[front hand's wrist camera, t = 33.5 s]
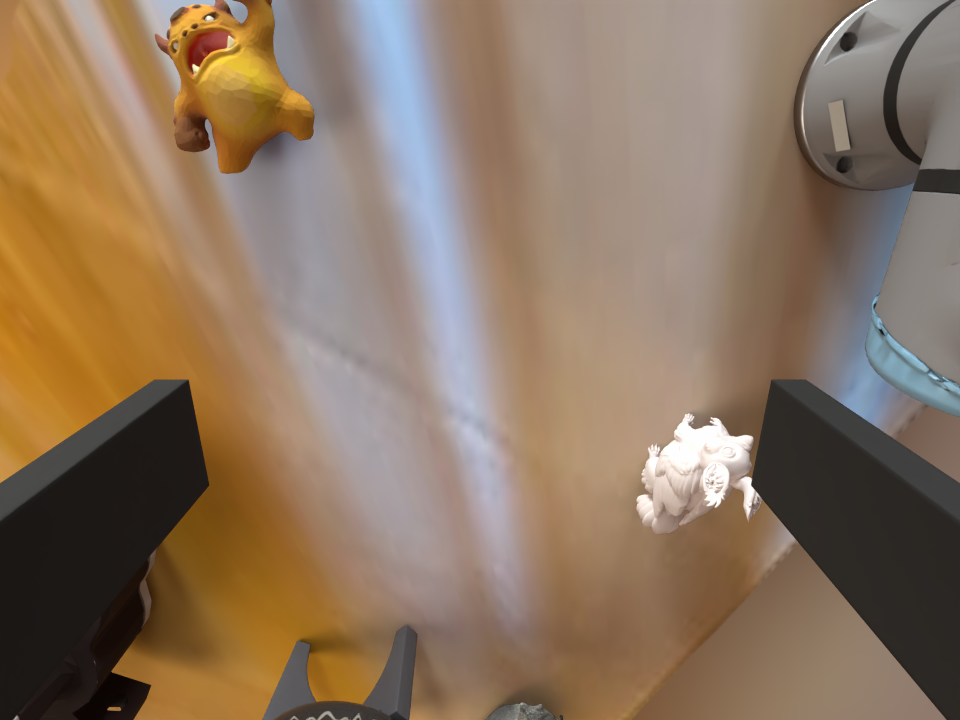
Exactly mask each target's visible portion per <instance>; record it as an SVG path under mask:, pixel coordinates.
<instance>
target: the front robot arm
mask: <svg viewBox="0 0 960 720" xmlns="http://www.w3.org/2000/svg"><path fill="white" fill-rule="evenodd" d="M794 127H795V134H796V138H797V142H798V144H799V147H800V150H801V152H802V154H803V156H804V157H805V159H806V160H807V162H808V164H809V165H810V166H811V167H812V168H813V169H814V170H815V171H816V172H817V173H818V174H819V175H820V176H822V177H823V178H824V179H826V180H828V181H829V182H831V183H833V184H836V185H838V186H841V187H845V188H850V189H857V190H872V191H873V190H886V189H891V188H897V187H902V186H905V185H909V184H912V183H914V182H915V185H914V188H913V190H912V193H911V196H910V200H909V203H908V206H907V209H906V212H905V215H904V218H903V222H902V225H901V228H900V231H899V234H898V237H897V240H896V244H895V247H894V250H893V253H892V256H891V259H890V262H889V266H888V269H887V272H886V275H885V278H884V281H883V285H882V288H881V291H880V294H879V295H877V296H876V297H875V299H874V300H873V303H872V306H871V309H872V311H871V316H872V319H871V323H870V326H869V330H868V334H867V338H866V342H865V350H866V354H867V357H868V361H869V363H870V365H871V366H872V367H873V369H874V370H875V371H876V372H877V373H878V374H879V375H880V376H881V377H882V378H883V379H884V380H886V381H887V382H888V383H890V384H891V385H892V386H894V387H895V388H897V389H899V390H900V391H902V392H904V393H905V394H907V395H909V396H911V397H913V398H915V399H917V400H918V401H920V402H923V403H925V404H927V405H929V406H931V407H934V408H936V409H938V410H941V411H943V412H946V413H948V414H951V415H954V416H957V417H960V195H959V194H960V0H871V1H869V2H867V3H865V4H863V5H861V6H859V7H858V8H856V9H854V10H853V11H851V12H850V13H849V14H847V15H846V16H845V17H843V18H842V19H841V20H840V21H839V22H837V23H836V24H835V25H834V26H833V27H832V28H831V29H830V30H829V31H828V32H827V34H826V35H825V36H824V37H823V38H822V40H821V41H820V42H819V44H818V45H817V46H816V48H815V49H814V51H813V53H812V54H811V56H810V58H809V60H808V62H807V64H806V65H805V68H804V70H803V72H802V75H801V77H800V81H799V84H798V87H797V92H796V96H795V103H794ZM916 191H918V192H916ZM931 192H940V193H931ZM945 193H955V194H945ZM208 486H209V482H208V476H207V471H206V466H205V461H204V456H203V451H202V446H201V441H200V436H199V431H198V426H197V421H196V415H195V410H194V405H193V400H192V395H191V390H190V385H189V380H153V381H152V382H150V383H149V384H147V385H146V386H144V387H143V388H141V389H140V390H138V391H137V392H135V393H134V394H133V395H131V396H130V397H128V398H127V399H125V400H124V401H122V402H121V403H119V404H118V405H116V406H115V407H113V408H112V409H110V410H109V411H107V412H106V413H104V414H103V415H101V416H100V417H98V418H97V419H95V420H94V421H92V422H91V423H89V424H88V425H86V426H85V427H83V428H82V429H80V430H79V431H77V432H76V433H74V434H73V435H71V436H70V437H68V438H67V439H66V440H64V441H63V442H61V443H60V444H58V445H57V446H55V447H54V448H52V449H51V450H49V451H48V452H46V453H45V454H43V455H42V456H40V457H39V458H37V459H36V460H34V461H33V462H31V463H30V464H28V465H27V466H25V467H24V468H22V469H21V470H19V471H18V472H16V473H15V474H13V475H12V476H10V477H9V478H7V479H6V480H4V481H3V482H1V483H0V720H14V718H15V717H16V716H17V715H18V714H19V712H20V711H21V710H22V709H23V708H24V706H25V705H26V704H27V703H28V702H29V700H30V699H31V698H32V697H33V696H34V694H35V693H36V692H37V691H38V690H39V688H40V687H41V686H42V685H43V684H44V682H45V681H46V680H47V679H48V678H49V676H50V675H51V674H52V673H53V672H54V670H55V669H56V668H57V667H58V666H59V664H60V663H61V662H62V661H63V660H64V659H65V657H66V656H67V655H68V654H69V653H70V651H71V650H72V649H73V648H74V647H75V645H76V644H77V643H78V642H79V641H80V639H81V638H82V637H83V636H84V635H85V633H86V632H87V631H88V630H89V629H90V627H91V626H92V625H93V624H94V623H95V621H96V620H97V619H98V618H99V617H100V615H101V614H102V613H103V612H104V611H105V609H106V608H107V607H108V606H109V605H110V603H111V602H112V601H113V600H114V599H115V597H116V596H117V595H118V594H119V593H120V591H121V590H122V589H123V588H124V587H125V585H126V584H127V583H128V582H129V581H130V579H131V578H132V577H133V576H134V575H135V574H136V572H137V571H138V570H139V569H140V568H141V566H142V565H143V564H144V563H145V562H146V560H147V559H148V558H149V557H150V556H151V554H152V553H153V552H154V551H155V550H156V548H157V547H158V546H159V545H160V544H161V542H162V541H163V540H164V539H165V538H166V536H167V535H168V534H169V533H170V532H171V530H172V529H173V528H174V527H175V526H176V524H177V523H178V522H179V521H180V520H181V518H182V517H183V516H184V515H185V514H186V512H187V511H188V510H189V509H190V508H191V506H192V505H193V504H194V503H195V502H196V500H197V499H198V498H199V497H200V496H201V494H202V493H203V492H204V491H205V490H206V489H207V487H208ZM751 486H752V487H753V489H754V490H755V491H756V492H757V493H758V494H759V496H760V497H761V498H762V499H763V500H764V502H765V503H766V504H767V505H768V506H769V508H770V509H771V510H772V511H773V512H774V514H775V515H776V516H777V517H778V518H779V520H780V521H781V522H782V523H783V524H784V526H785V527H786V528H787V529H788V530H789V532H790V533H791V534H792V535H793V536H794V538H795V539H796V540H797V541H798V542H799V544H800V545H801V546H802V547H803V548H804V550H805V551H806V552H807V553H808V554H809V556H810V557H811V558H812V559H813V560H814V561H815V563H816V564H817V565H818V566H819V568H820V569H821V570H822V571H823V572H824V574H825V575H826V576H827V577H828V578H829V579H830V581H831V582H832V583H833V584H834V585H835V587H836V588H837V589H838V590H839V591H840V593H841V594H842V595H843V596H844V597H845V599H846V600H847V601H848V602H849V603H850V605H851V606H852V607H853V608H854V609H855V611H856V612H857V613H858V614H859V615H860V617H861V618H862V619H863V620H864V621H865V622H866V624H867V625H868V626H869V627H870V629H871V630H872V631H873V632H874V633H875V635H876V636H877V637H878V638H879V639H880V641H881V642H882V643H883V644H884V645H885V647H886V648H887V649H888V650H889V651H890V653H891V654H892V655H893V656H894V657H895V658H896V660H897V661H898V662H899V663H900V664H901V666H902V667H903V668H904V669H905V670H906V672H907V673H908V674H909V675H910V676H911V678H912V679H913V680H914V681H915V682H916V684H917V685H918V686H919V687H920V688H921V690H922V691H923V692H924V693H925V694H926V696H927V697H928V698H929V699H930V700H931V702H932V703H933V704H934V705H935V706H936V708H937V709H938V710H939V711H940V712H941V714H942V715H943V716H944V717H945V718H946V720H960V483H959V482H957V481H956V480H954V479H953V478H951V477H950V476H948V475H947V474H945V473H944V472H942V471H941V470H939V469H938V468H936V467H935V466H933V465H932V464H930V463H929V462H927V461H926V460H924V459H923V458H921V457H920V456H918V455H917V454H915V453H914V452H912V451H911V450H909V449H908V448H906V447H905V446H903V445H902V444H900V443H899V442H897V441H896V440H894V439H893V438H892V437H890V436H889V435H887V434H886V433H884V432H883V431H881V430H880V429H878V428H877V427H875V426H874V425H872V424H871V423H869V422H868V421H866V420H865V419H863V418H862V417H860V416H859V415H857V414H856V413H854V412H853V411H851V410H850V409H848V408H847V407H845V406H844V405H842V404H841V403H839V402H838V401H836V400H835V399H833V398H832V397H830V396H829V395H827V394H826V393H825V392H823V391H822V390H820V389H819V388H817V387H816V386H814V385H813V384H811V383H810V382H808V381H807V380H771V385H770V390H769V395H768V400H767V405H766V410H765V415H764V421H763V426H762V431H761V436H760V441H759V446H758V451H757V456H756V461H755V466H754V471H753V476H752V482H751Z"/></svg>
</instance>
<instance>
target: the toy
mask: <svg viewBox="0 0 960 720" xmlns="http://www.w3.org/2000/svg"><path fill="white" fill-rule="evenodd" d="M234 1H238V2H241V3H243V4H244V5H245V6H246V7H247V10H248V16H247V19H246V21H245V22H244V23H243V24H241V23H240V22H238V21H237V20H236V19H235V18H234V17H233V15H232V14H231V11H230V8H229V6H228V4H227V3H226V2H225V1H224V0H215V6H209V5H200V4H196V5H190V6H187V7H181V8H179V9H178V10H177V11H176V12H175V13H174V14H173V15H172V16H171V18H170V21H171V25H170V28H169V30H168V31H167V38H168V41H167V40H165V39H163V38H162V37H160V36H159V35H158V34H155V39H156V42H157V44H158V46H159V48H160V49H161V50H162V51H163V52H165V53H166V54H168V55H169V56H170V57H171V59H172V60H173V61H174V64H175V66H176V68H177V70H178V72H179V75H180V78H181V90H180V92H179V95H178V97H177V99H176V100H175V103H174V107H175V116H174V124H175V126H176V129H175V139H176V143H177V146H178V148H179V149H181V150H184V151H190V152H199V151H203V150H206V149H208V148H209V147H210V141H209V139H208V133H207V131H206V129H205V120H206V119H208V120H209V121H210V123H211V125H212V132H213V138H214V141H215V145H216V149H217V155H218V165H219V169H220V172H221V173H226V174H228V173H239V172H242V171H244V170H245V169H246V168H247V167H248V165H249V164H250V162H251V160H252V158H253V155H254V154H255V153H256V151H257V150H258V149H259V148H260V147H261V146H262V145H263V144H264V143H266V142H267V141H268V140H270V139H271V138H273V137H274V136H276V135H277V134H279V133H281V132H288V133H291V134H293V135H294V137H295V138H297V139H298V140H306V139H310V138H311V137H312V135H313V123H314V110H313V108H312V106H311V104H310V103H309V102H308V101H307V100H306V99H305V98H304V97H303V96H302V95H301V94H299V93H297V92H295V91H293V90H292V89H291V88H290V87H289V86H288V84H287V83H286V81H285V79H284V78H283V76H282V74H281V72H280V70H279V68H278V66H277V63H276V59H275V55H274V49H273V34H274V27H275V21H274V16H273V11H272V7H271V3H272V0H234Z"/></svg>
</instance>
